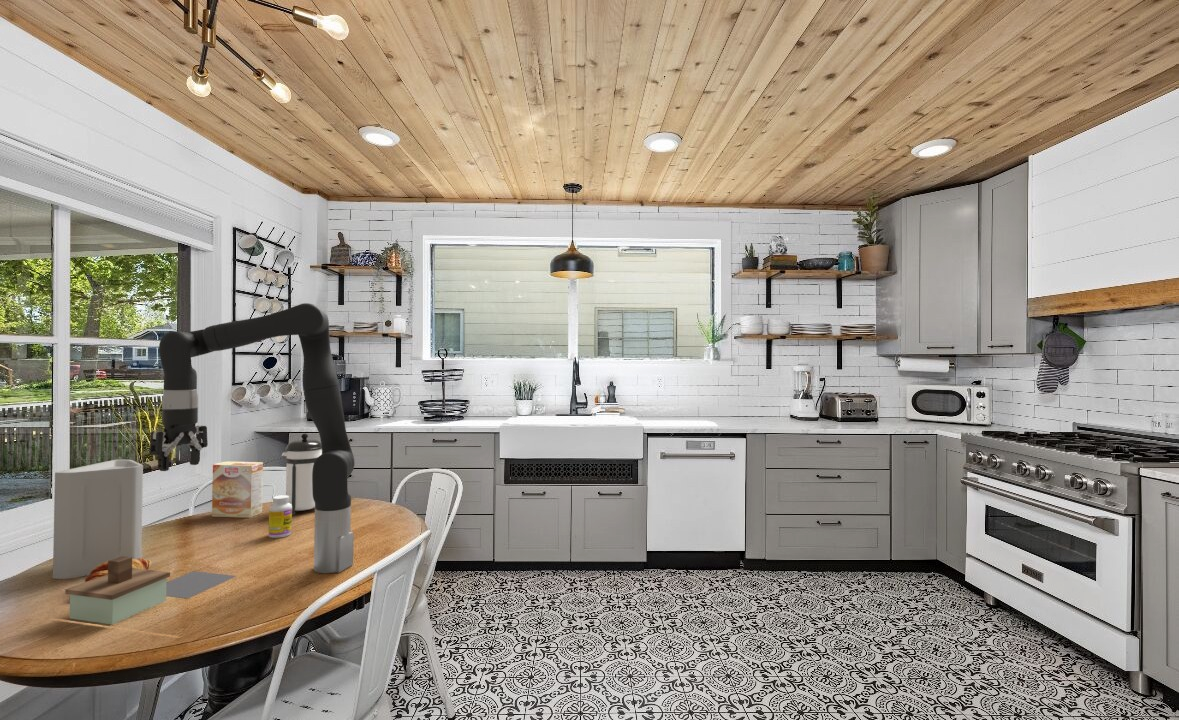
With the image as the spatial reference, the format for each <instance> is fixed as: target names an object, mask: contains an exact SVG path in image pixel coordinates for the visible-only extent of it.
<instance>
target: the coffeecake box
mask: <svg viewBox="0 0 1179 720" xmlns="http://www.w3.org/2000/svg"><path fill="white" fill-rule="evenodd" d="M263 475H264V462H262V461H259V462H258V461H232V460H231V461H229V460H228V461H227V460H225V461H222V462H217V463H213V464H212V490H211V491H212V492H211V517H214V518H215V517H216V518H245V519H247V518H249V519H251V518H253V517H255V516H257V515H258V516H259V515H260V514H262V513H263V491H264V490H263V488H264V487H263V485H264V484H263V483H264V480H263Z"/></svg>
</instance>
